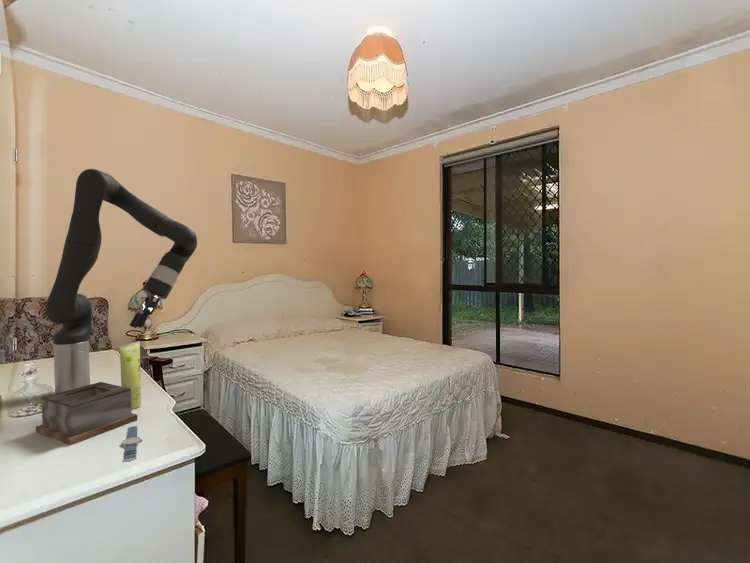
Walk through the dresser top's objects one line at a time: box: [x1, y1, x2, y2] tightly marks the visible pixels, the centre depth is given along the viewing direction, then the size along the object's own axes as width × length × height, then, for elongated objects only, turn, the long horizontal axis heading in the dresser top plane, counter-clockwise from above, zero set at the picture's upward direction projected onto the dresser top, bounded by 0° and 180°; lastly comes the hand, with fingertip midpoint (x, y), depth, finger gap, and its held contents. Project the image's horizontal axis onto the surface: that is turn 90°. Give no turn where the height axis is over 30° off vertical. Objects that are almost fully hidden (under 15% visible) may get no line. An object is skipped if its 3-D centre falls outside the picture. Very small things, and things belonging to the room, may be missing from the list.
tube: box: [119, 340, 142, 410], centre depth 112 cm, size 6×5×20 cm
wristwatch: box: [121, 425, 143, 463], centre depth 90 cm, size 4×20×1 cm, turn 31°
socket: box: [35, 381, 139, 446], centre depth 99 cm, size 16×16×9 cm
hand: (134, 326), depth 117 cm, fingers open, 8 cm apart
